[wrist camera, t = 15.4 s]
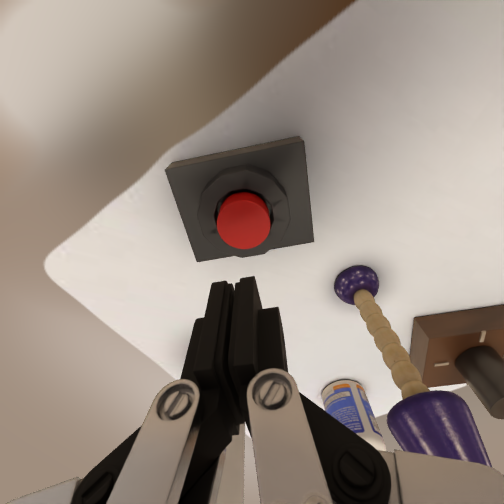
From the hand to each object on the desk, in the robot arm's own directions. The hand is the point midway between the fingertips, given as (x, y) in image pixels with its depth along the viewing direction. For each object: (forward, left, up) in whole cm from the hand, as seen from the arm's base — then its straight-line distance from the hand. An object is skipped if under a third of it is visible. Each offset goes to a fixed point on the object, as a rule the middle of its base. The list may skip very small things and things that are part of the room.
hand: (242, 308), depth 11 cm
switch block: (0, 0, -14) cm, 14 cm away
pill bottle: (-7, +28, -14) cm, 32 cm away
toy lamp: (-9, +11, -14) cm, 20 cm away
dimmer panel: (-20, +21, -14) cm, 32 cm away
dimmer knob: (-20, +21, -11) cm, 31 cm away
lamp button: (0, 0, -10) cm, 10 cm away
